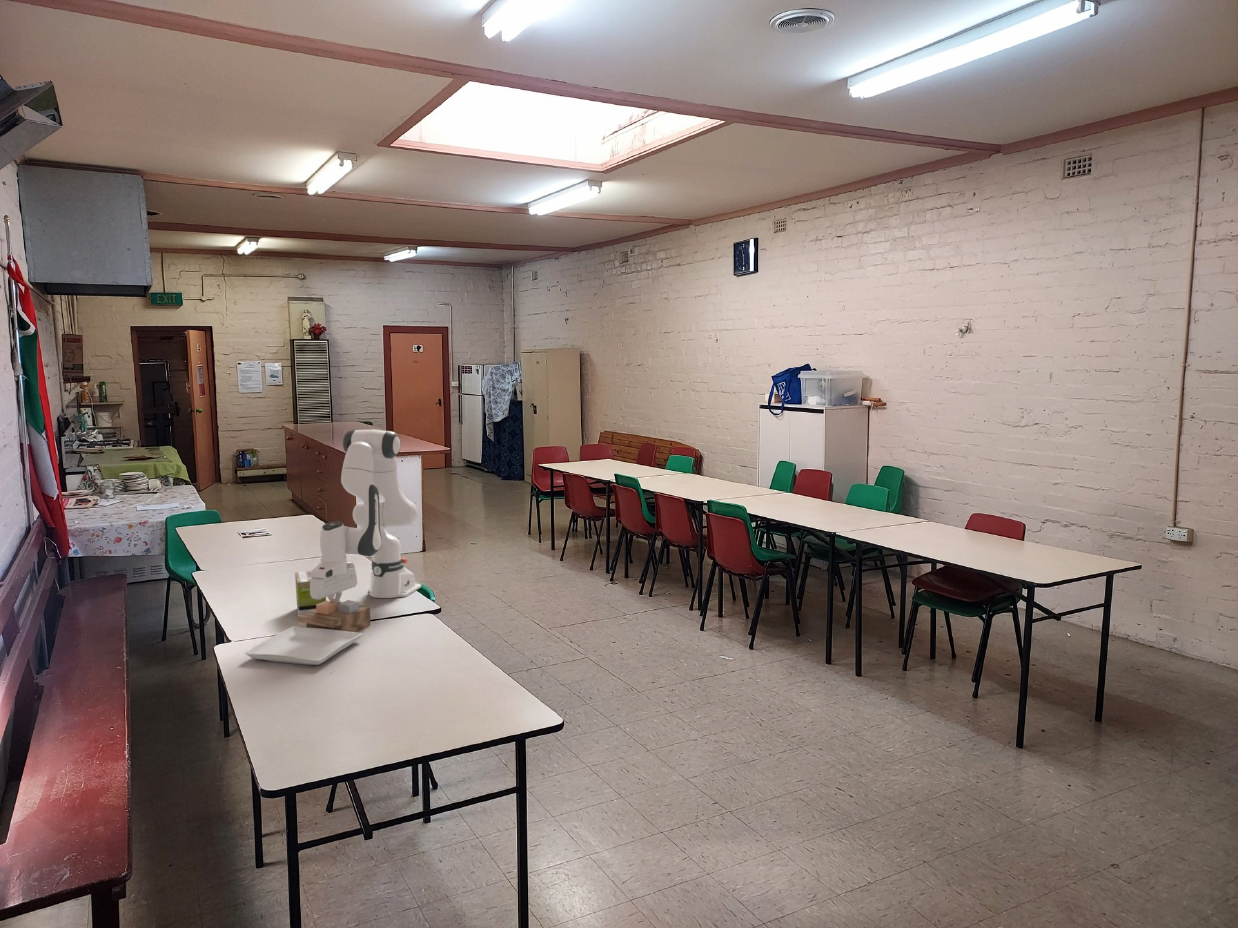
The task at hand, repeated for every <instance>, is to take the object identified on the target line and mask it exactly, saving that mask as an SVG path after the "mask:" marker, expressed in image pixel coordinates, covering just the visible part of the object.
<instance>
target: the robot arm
mask: <svg viewBox="0 0 1238 928" xmlns="http://www.w3.org/2000/svg"><path fill="white" fill-rule="evenodd" d="M401 444H402V443H401V438H400V436H399V435H398V433H396V432H394V431H391V430H381V429H373V428H371V429H350V430H347V432H346V433H345V434H344V436H343V439H342V448H343V449H342V450H343V452H345V455H344V460H343V465H342V469H341V474H340V475H341V476H340V483H341V485H342V487H343V489H345V491H346V492H347V493H348V494H351V495H352V496H354V497H357V498H358V499H359V500H360V502H357V504H356V505H355V506H354V507H353V510H352V519H353V521H354V523H355V524H356V525H357V526H358V527H349V526H346V525H344V523H343V522H342V521H330V522H326V523H325V524H323V525H322V526H321V529H320V535H319V550H320V553H321V555H320V563H318V565H316V567H314V568H313V569H311V570H309V571H310V576H311V577H313V578H312V579H311V581H310V596H311V597H312V598H313V599H317V600H320V599H322V598H325V597H326V598H327V599H328V601H331V602H337V605H338V604H339V603H340V602H341V601H340V600H341V599H342V596H343V592H344V591H347V590H349V589H350V590H351V589H352V588H355V587H356V586H357V585H358V577H357V572H356V569H355V568H356V567H355V564H354V563H353V562H347V561H348V560H347V556H346V554H348V555H360V556H364V557H372V560H371V570H372V571H371V573H370V586H369V588H368V592H369V597H372V598H375V599H377V598H378V599H392V598H400V597H401V598H405V597H407V596H409V595H411V594H412V593H414V592H416V591H417V590H419V589H420V588H422V584H421V583H419V582H416V579H415V577H416V576H415V575H414V573H413V572H411V571H410V570H409V569H407V568H406V567H405V565H404V564H407V563H408V558H404V557H402V558H401V542H400V539H398V538H397V536H394V535H392V534H391V533H389V532H388V531H387V530H386V528H405V527H406V528H407V527H409V526H414V524H415V523H416V522H417V521H418V515H419V510H418V508H417V506H416V504H415V503H414V502H412V501H411V500H410V499H408V498H407V497H406V496H405V494H404V493H403V492H402V489H401V488H400V484H399V477H398V476H399V475H398V465H397V463H398V462H397V457H396V456H398V454H399V453H400V450H401V446H402V445H401ZM380 496H381V497H382V498H383V499H384V500H380Z"/></svg>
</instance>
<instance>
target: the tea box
mask: <svg viewBox="0 0 1238 928" xmlns="http://www.w3.org/2000/svg"><path fill="white" fill-rule="evenodd" d="M310 571H311V570H308V571H307V570H306V571H299V572H298V571H297V572H295V573H294V577H295V578H294V579H295V593H296V594H295V595H296V609H297V614H298V615H301V614H303V613H306V612H308V611H311V610H314V609H316V604H319V603H322V602H324V601H327V597H325V598H322V599H320V600H317V599H313V598H312V597H311V596H310V581H311V579H312V578H313V577H311V576H310ZM298 615H297V616H298Z"/></svg>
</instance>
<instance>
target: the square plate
mask: <svg viewBox="0 0 1238 928" xmlns="http://www.w3.org/2000/svg"><path fill="white" fill-rule="evenodd" d="M362 636H363V633H362V632H358V631H357V632H348V631H340V630H332V629H321V628H307V627H306V626H305V627H304V626H292V627H289V628H287V629H286V630H285V629H284V631H281V632H280V633H277V634H275V635H274V636H272V637H270V638H268V639H266V640H265V641H263V642H260V644H257V645H255V646H254V647H252V648H251V649H249V650H247V651H245V652H244V654H245V655H247V656H248V657H249V658H251V659H255V660H256V659H257V660H264V661H269V662H275V663H277V662H279V663H289V664H297V665H312V666H313V665H321V664H322V663H324V662H325V661H327V660H328V659H330V658H331V657H333V656H334V655H335V656H336V654H338V653H340V652H341V651H342V650H344V649H346V648H348V647H349V646H350V645H353V644H354V643H355V642H357V641H358V640H359V639H360V638H361V637H362Z"/></svg>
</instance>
